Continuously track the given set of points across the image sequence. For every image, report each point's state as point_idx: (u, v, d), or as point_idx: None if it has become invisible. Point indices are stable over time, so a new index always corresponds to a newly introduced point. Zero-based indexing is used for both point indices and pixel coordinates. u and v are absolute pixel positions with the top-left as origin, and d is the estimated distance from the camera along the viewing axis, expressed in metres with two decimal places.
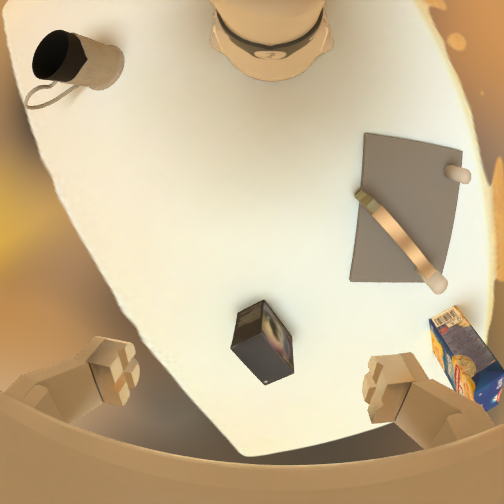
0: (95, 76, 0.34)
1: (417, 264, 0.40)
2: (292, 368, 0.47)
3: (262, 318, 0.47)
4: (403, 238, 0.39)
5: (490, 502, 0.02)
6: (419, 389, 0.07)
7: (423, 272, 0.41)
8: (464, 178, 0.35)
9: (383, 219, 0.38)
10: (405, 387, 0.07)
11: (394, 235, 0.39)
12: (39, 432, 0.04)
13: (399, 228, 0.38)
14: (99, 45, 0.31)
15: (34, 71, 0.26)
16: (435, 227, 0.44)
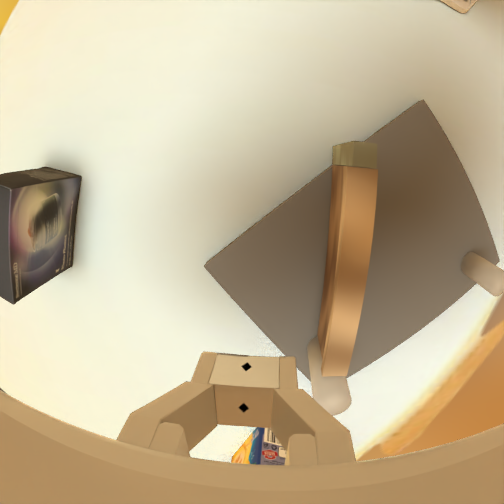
0: None
1: (333, 337, 0.20)
2: (16, 295, 0.19)
3: (42, 182, 0.20)
4: (357, 266, 0.18)
5: (490, 502, 0.02)
6: (280, 398, 0.07)
7: (328, 359, 0.20)
8: (496, 284, 0.19)
9: (358, 197, 0.17)
10: (268, 393, 0.07)
11: (348, 247, 0.18)
12: (39, 432, 0.04)
13: (366, 243, 0.18)
14: None
15: None
16: (390, 316, 0.26)
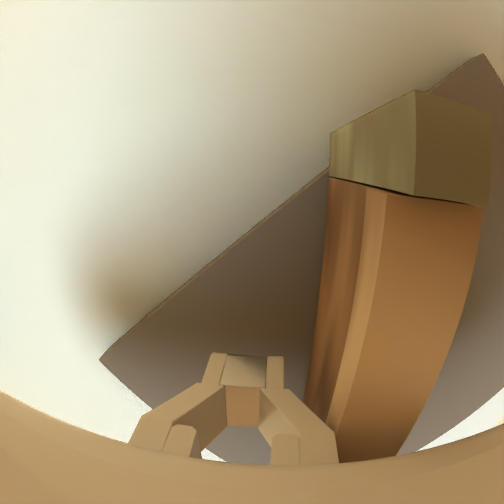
0: None
1: None
2: None
3: None
4: (370, 456, 0.06)
5: (490, 502, 0.02)
6: (266, 397, 0.07)
7: None
8: None
9: (413, 306, 0.04)
10: (255, 392, 0.07)
11: (356, 431, 0.05)
12: (39, 432, 0.04)
13: (407, 417, 0.05)
14: None
15: None
16: None
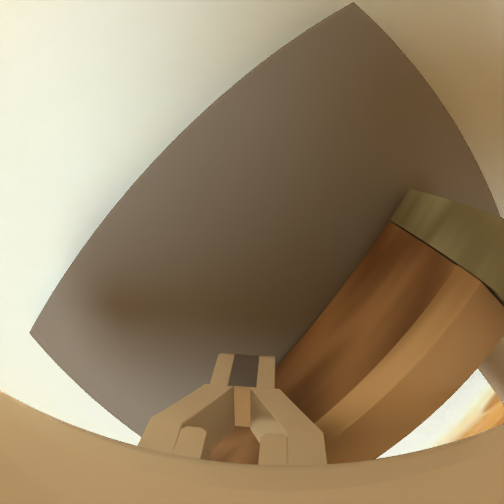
0: None
1: None
2: None
3: None
4: None
5: (490, 502, 0.02)
6: (255, 397, 0.07)
7: None
8: None
9: (446, 363, 0.05)
10: (246, 392, 0.07)
11: (344, 444, 0.06)
12: (39, 432, 0.04)
13: (383, 446, 0.06)
14: None
15: None
16: None
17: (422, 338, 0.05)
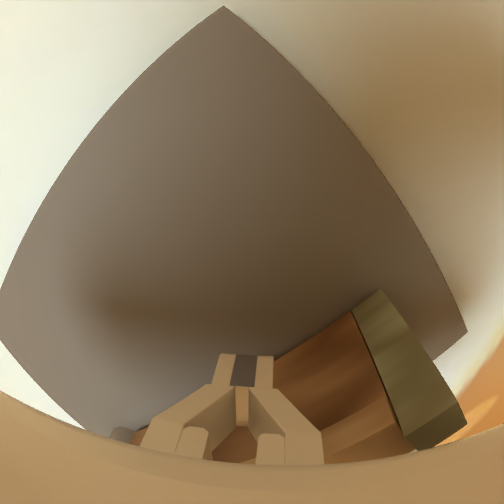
0: None
1: None
2: None
3: None
4: None
5: (490, 502, 0.02)
6: (254, 397, 0.07)
7: None
8: None
9: None
10: (244, 391, 0.07)
11: None
12: (39, 432, 0.04)
13: None
14: None
15: None
16: None
17: (332, 441, 0.06)
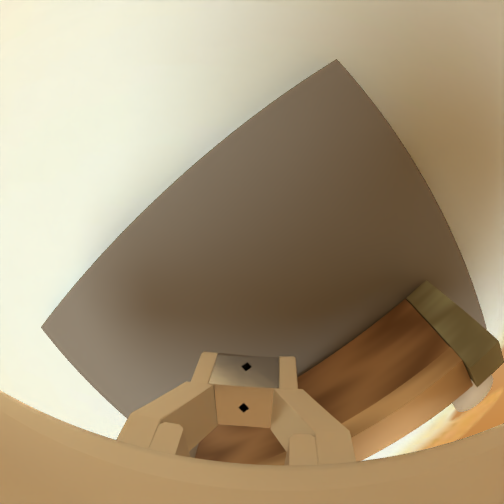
0: None
1: None
2: None
3: None
4: None
5: (490, 502, 0.02)
6: (280, 398, 0.07)
7: None
8: (468, 395, 0.10)
9: (430, 400, 0.08)
10: (268, 393, 0.07)
11: (357, 441, 0.09)
12: (39, 432, 0.04)
13: (376, 448, 0.09)
14: None
15: None
16: None
17: (421, 383, 0.09)
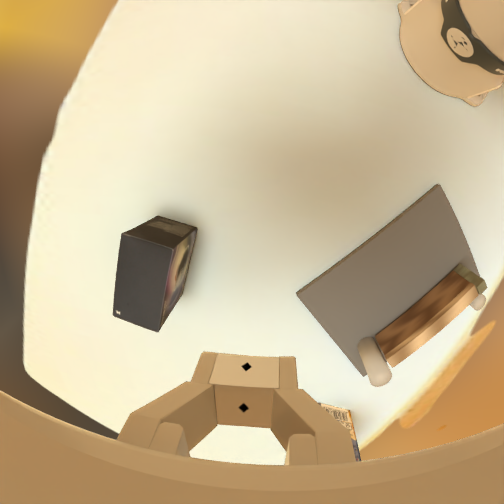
0: None
1: (410, 343, 0.33)
2: (160, 325, 0.32)
3: (183, 239, 0.32)
4: (444, 321, 0.31)
5: (490, 502, 0.02)
6: (280, 398, 0.07)
7: (398, 353, 0.33)
8: (478, 303, 0.31)
9: (467, 298, 0.30)
10: (268, 393, 0.07)
11: (449, 312, 0.31)
12: (39, 432, 0.04)
13: (453, 316, 0.31)
14: None
15: None
16: None
17: (464, 292, 0.30)
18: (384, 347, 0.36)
